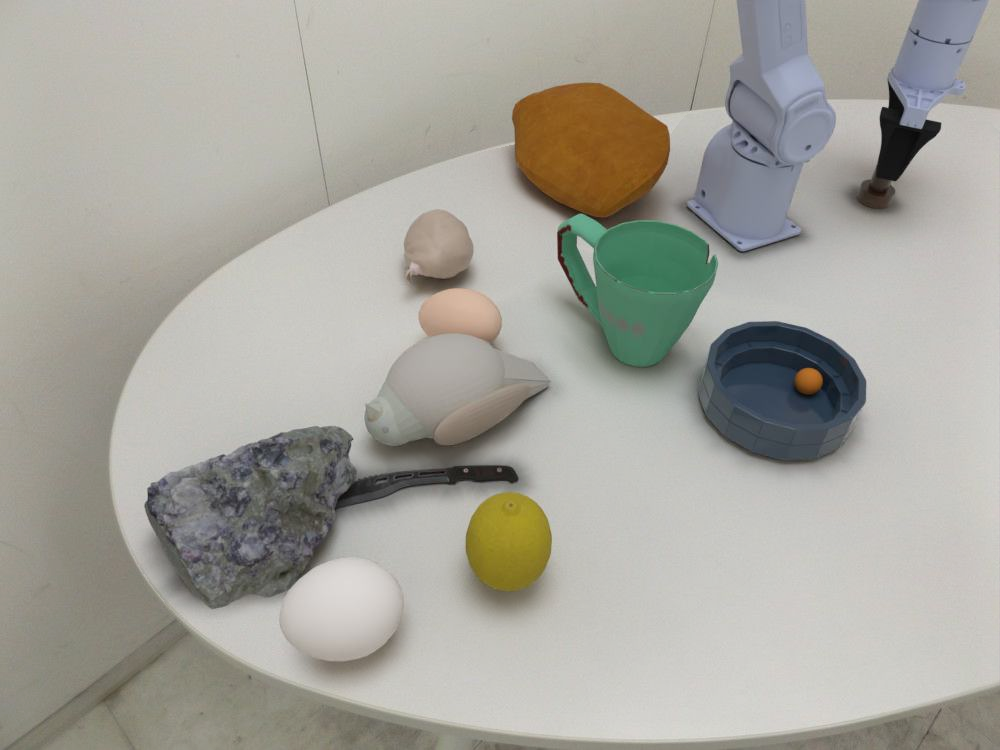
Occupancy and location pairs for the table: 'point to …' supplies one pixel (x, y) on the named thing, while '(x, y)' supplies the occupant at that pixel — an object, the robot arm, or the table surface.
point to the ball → (808, 381)
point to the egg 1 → (342, 609)
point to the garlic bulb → (437, 246)
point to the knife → (421, 480)
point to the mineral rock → (252, 512)
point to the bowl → (781, 390)
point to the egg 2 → (460, 314)
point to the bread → (589, 147)
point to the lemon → (508, 541)
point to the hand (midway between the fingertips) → (889, 160)
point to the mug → (638, 282)
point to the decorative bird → (450, 391)
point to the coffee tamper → (876, 192)
